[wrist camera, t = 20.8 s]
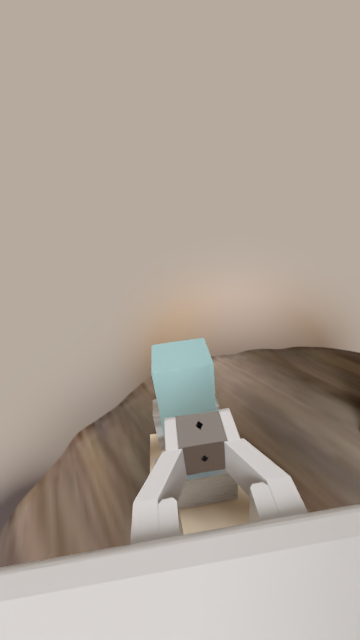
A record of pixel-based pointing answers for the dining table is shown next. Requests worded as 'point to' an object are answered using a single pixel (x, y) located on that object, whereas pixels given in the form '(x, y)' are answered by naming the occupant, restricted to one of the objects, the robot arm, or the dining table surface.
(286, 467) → the dining table surface
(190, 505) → the block
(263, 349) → the dining table surface
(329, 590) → the robot arm
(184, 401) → the teal block
